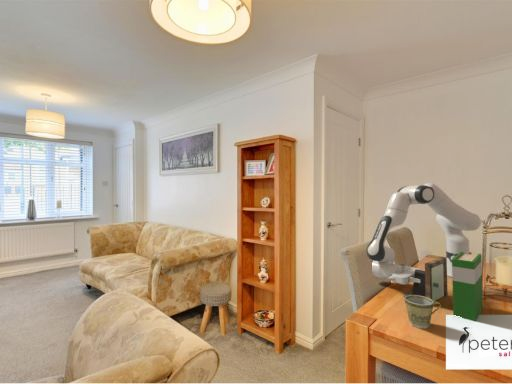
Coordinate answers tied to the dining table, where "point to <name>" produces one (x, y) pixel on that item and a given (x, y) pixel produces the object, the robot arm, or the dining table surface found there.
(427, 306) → the ceramic cup
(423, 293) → the door stopper
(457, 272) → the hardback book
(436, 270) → the door
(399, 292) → the dining table surface
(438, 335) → the dining table surface
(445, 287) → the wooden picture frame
